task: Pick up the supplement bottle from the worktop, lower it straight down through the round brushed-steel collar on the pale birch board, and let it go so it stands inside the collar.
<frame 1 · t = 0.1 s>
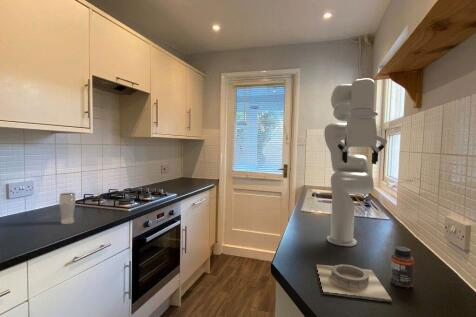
hand: (359, 163, 96), 37 cm above the worktop, tool pointing down, fingers open, 9 cm apart
beer glass: (67, 222, 139), on the worktop
collar board: (349, 282, 84), on the worktop
supplement bottle: (401, 284, 84), on the worktop
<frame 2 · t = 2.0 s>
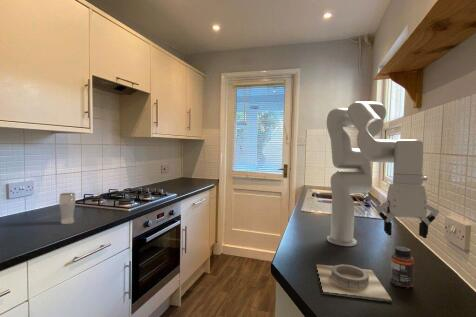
hand: (405, 235, 82), 16 cm above the worktop, tool pointing down, fingers open, 9 cm apart
nothing on the worktop moved.
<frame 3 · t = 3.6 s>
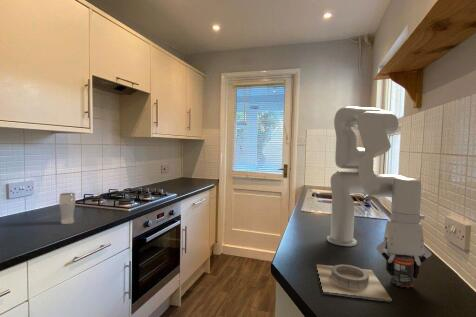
hand: (401, 274, 83), 3 cm above the worktop, tool pointing down, fingers closed on supplement bottle, 6 cm apart
supplement bottle: (401, 284, 84), on the worktop, touching gripper
everything else where it was.
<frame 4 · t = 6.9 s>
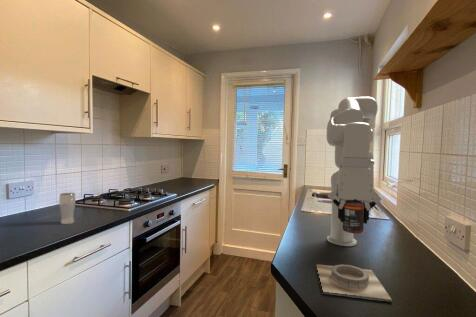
hand: (352, 221, 83), 19 cm above the worktop, tool pointing down, fingers closed on supplement bottle, 5 cm apart
supplement bottle: (352, 231, 83), point 16 cm above the worktop, touching gripper
everything else where it was.
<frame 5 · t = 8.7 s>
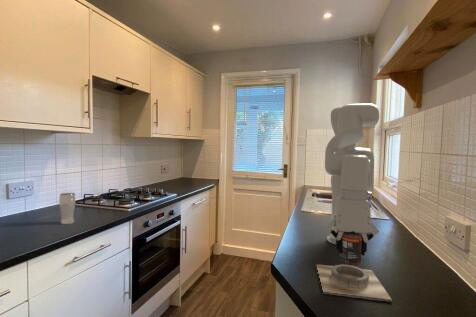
hand: (350, 252, 83), 10 cm above the worktop, tool pointing down, fingers closed on supplement bottle, 5 cm apart
supplement bottle: (350, 263, 83), point 6 cm above the worktop, touching gripper
everything else where it was.
when the fingers open (6 cm above the worktop, at t = 10.3 s): supplement bottle drops 2 cm, resting on collar board.
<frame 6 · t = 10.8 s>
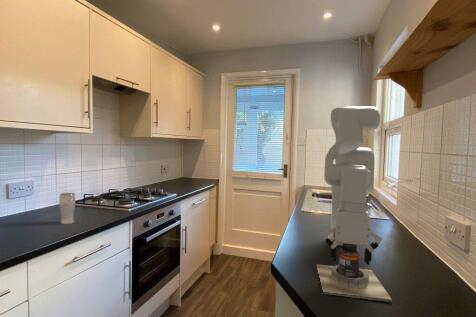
hand: (350, 261, 83), 7 cm above the worktop, tool pointing down, fingers open, 9 cm apart
supplement bottle: (348, 279, 84), point 1 cm above the worktop, touching collar board
everything else where it was.
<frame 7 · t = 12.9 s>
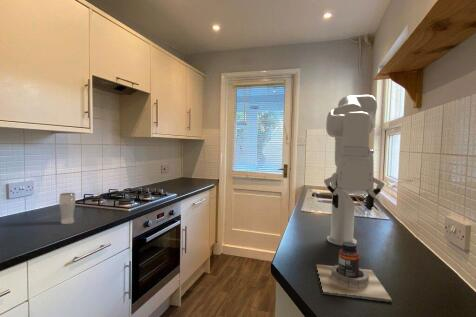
hand: (352, 208, 83), 23 cm above the worktop, tool pointing down, fingers open, 9 cm apart
nothing on the worktop moved.
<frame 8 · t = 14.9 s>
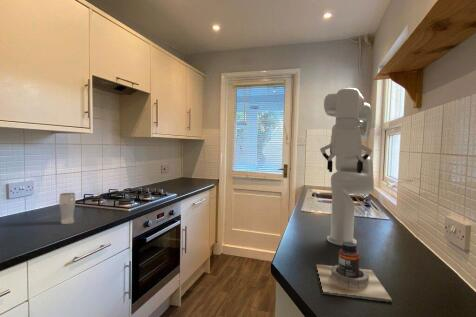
hand: (344, 172, 96), 33 cm above the worktop, tool pointing down, fingers open, 9 cm apart
nothing on the worktop moved.
at the end: supplement bottle 0.4 cm off-centre on the collar board, point 0.8 cm above the collar board's base; supplement bottle tilted 0°; the gripper is holding nothing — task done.
